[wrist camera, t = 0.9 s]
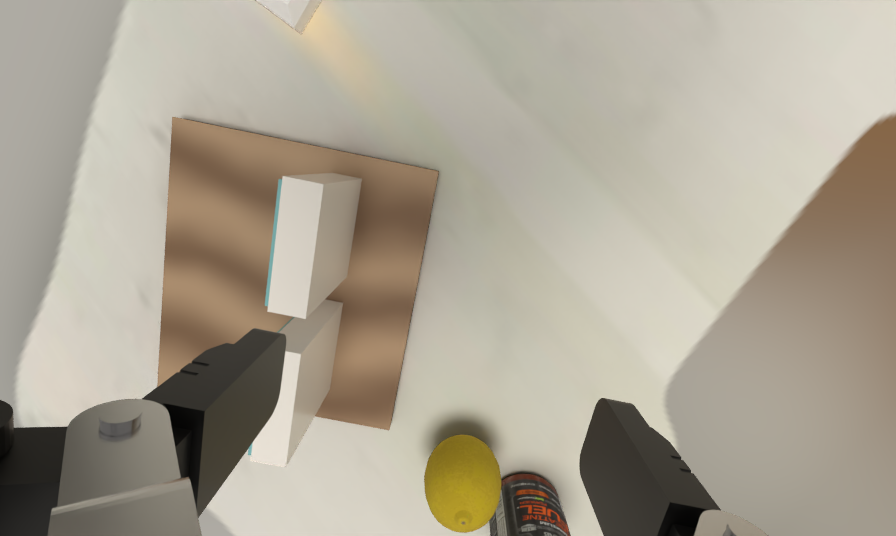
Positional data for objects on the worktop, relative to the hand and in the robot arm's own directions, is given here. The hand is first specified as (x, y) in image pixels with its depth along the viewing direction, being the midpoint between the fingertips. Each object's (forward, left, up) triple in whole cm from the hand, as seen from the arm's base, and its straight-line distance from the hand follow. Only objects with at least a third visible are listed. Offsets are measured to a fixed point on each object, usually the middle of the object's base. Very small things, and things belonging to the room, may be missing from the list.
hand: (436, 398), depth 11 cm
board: (+5, -11, -22) cm, 25 cm away
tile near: (0, -8, -21) cm, 22 cm away
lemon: (+16, +4, -22) cm, 28 cm away
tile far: (+9, -8, -21) cm, 24 cm away
